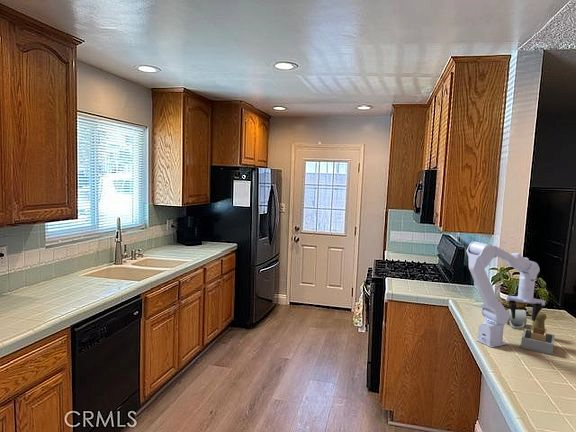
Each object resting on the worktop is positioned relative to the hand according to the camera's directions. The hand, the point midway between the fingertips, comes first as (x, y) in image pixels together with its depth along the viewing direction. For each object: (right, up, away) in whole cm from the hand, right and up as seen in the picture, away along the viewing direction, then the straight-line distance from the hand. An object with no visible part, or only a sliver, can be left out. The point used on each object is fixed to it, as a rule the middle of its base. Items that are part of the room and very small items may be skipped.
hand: (523, 319), depth 177 cm
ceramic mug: (+8, -8, +19) cm, 22 cm away
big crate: (+3, -10, -5) cm, 12 cm away
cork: (+10, -9, +6) cm, 15 cm away
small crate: (+3, -9, -6) cm, 11 cm away
